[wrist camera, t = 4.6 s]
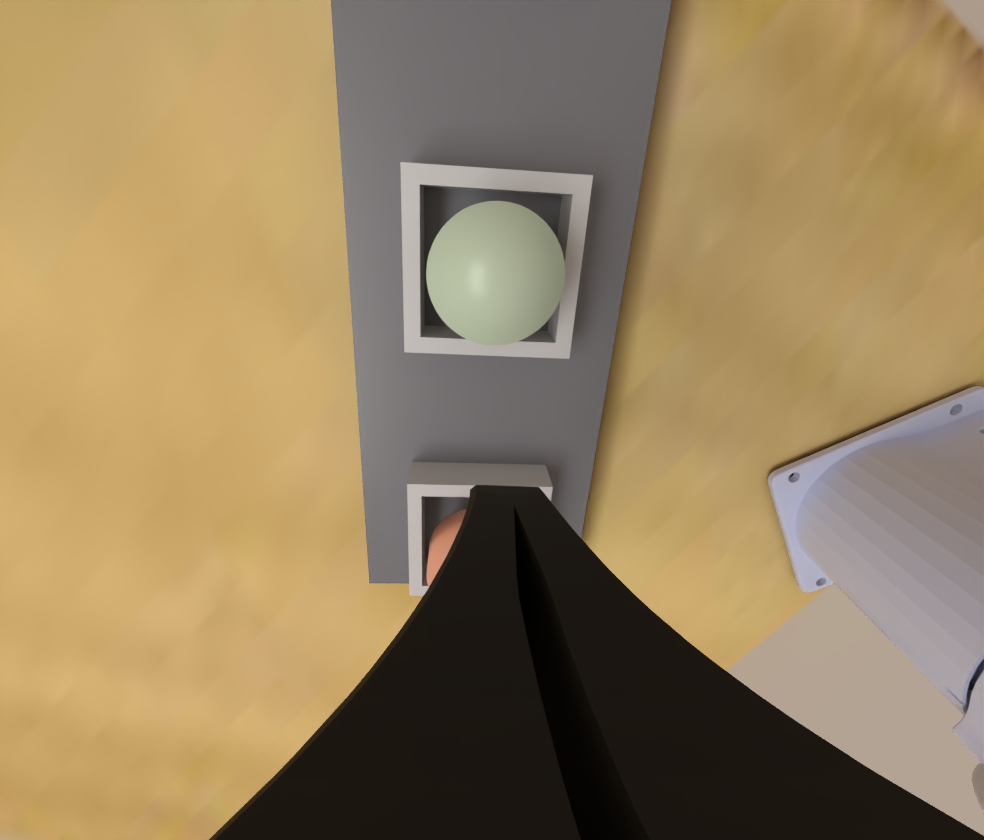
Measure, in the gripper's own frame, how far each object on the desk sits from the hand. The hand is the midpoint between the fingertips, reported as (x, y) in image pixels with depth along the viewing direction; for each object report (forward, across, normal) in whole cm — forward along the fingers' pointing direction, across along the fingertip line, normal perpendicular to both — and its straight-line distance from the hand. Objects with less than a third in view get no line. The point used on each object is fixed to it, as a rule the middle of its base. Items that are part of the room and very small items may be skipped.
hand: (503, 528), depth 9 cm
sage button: (+6, 0, -4) cm, 8 cm away
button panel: (+10, 0, -4) cm, 11 cm away
